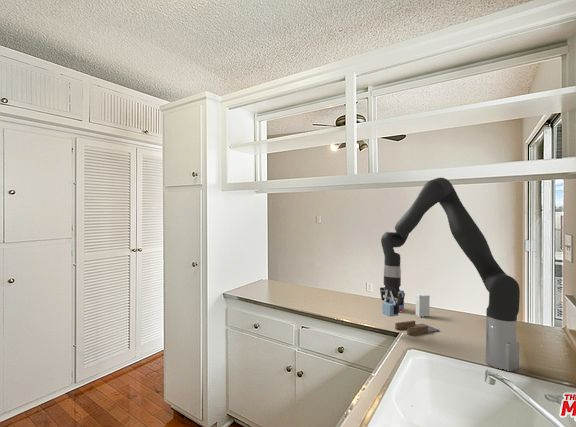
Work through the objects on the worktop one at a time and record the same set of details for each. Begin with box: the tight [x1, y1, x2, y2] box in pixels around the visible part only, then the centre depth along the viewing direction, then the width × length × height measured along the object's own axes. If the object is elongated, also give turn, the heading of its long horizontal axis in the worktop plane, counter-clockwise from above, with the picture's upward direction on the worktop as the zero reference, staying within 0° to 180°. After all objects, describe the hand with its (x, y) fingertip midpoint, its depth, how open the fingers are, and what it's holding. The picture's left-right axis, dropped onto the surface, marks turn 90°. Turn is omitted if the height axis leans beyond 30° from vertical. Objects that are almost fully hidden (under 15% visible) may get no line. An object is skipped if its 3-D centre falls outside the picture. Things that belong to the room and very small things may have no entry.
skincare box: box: [415, 293, 431, 317], centre depth 172 cm, size 6×4×12 cm
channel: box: [394, 320, 429, 336], centre depth 147 cm, size 8×12×3 cm
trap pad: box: [415, 323, 441, 333], centre depth 151 cm, size 10×6×1 cm, turn 25°
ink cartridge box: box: [390, 289, 405, 312], centre depth 183 cm, size 10×6×14 cm, turn 25°
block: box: [381, 302, 399, 317], centre depth 142 cm, size 5×5×5 cm
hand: (391, 312), depth 142 cm, fingers closed on block, 5 cm apart
